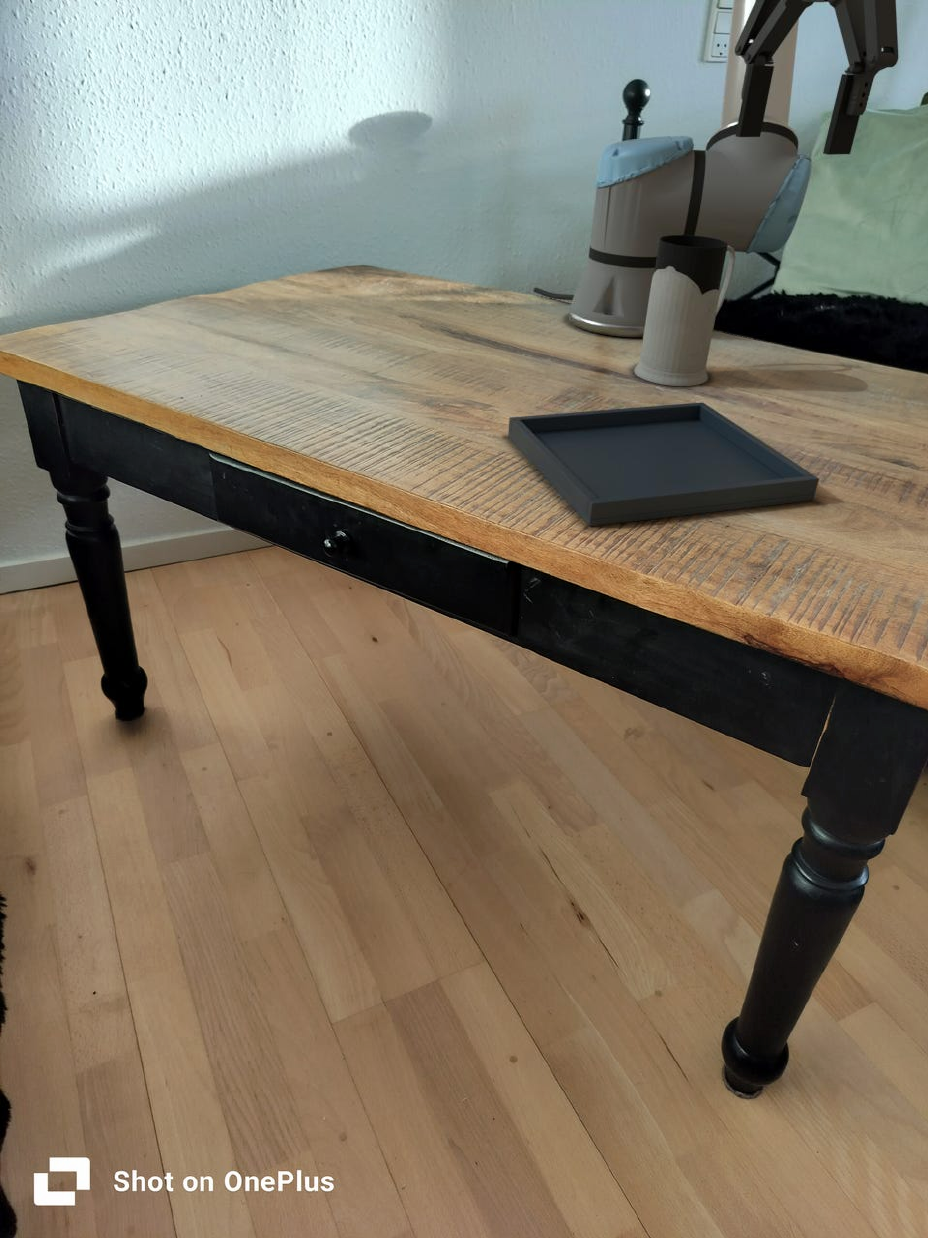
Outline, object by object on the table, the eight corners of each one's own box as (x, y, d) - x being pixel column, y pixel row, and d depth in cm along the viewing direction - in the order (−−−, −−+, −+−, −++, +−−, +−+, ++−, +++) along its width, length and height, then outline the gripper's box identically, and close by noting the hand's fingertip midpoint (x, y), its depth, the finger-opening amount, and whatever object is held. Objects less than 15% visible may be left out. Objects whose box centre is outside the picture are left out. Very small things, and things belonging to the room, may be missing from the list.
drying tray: (507, 437, 86) (509, 417, 85) (699, 421, 92) (702, 401, 90) (589, 526, 70) (592, 503, 69) (813, 500, 76) (819, 478, 75)
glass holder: (619, 372, 104) (638, 238, 96) (684, 350, 113) (706, 226, 105) (681, 391, 99) (706, 252, 91) (744, 367, 108) (772, 238, 100)
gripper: (728, -118, 85) (688, 130, 97) (928, -149, 66) (848, 162, 78) (789, -111, 87) (743, 130, 99) (999, -140, 68) (910, 161, 81)
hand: (789, 145), depth 89 cm, fingers open, 13 cm apart
